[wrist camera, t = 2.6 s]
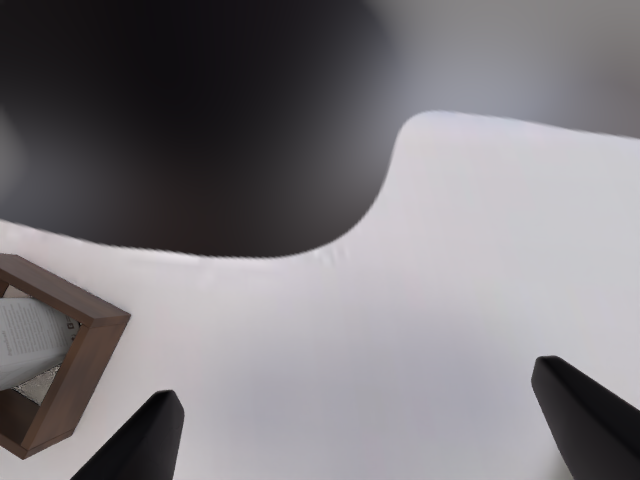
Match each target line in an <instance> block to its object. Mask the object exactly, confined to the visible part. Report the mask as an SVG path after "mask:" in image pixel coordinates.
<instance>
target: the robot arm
mask: <svg viewBox="0 0 640 480" xmlns="http://www.w3.org/2000/svg"><path fill="white" fill-rule="evenodd" d="M531 383H532V388H533V391H534V393H535V395H536V398H537V400H538V402H539V405H540V407H541V409H542V412H543V414H544V416H545V419H546V421H547V423H548V426H549V428H550V430H551V433H552V435H553V437H554V440H555V442H556V444H557V446H558V449H559V451H560V453H561V455H562V457H563V459H564V461H565V463H566V465H567V467H568V469H569V470H570V472H571V474H572V476H573V478H574V480H640V411H639V410H638V409H636V408H635V407H633V406H632V405H630V404H629V403H627V402H626V401H624V400H623V399H621V398H620V397H618V396H617V395H615V394H614V393H612V392H611V391H609V390H608V389H606V388H605V387H603V386H602V385H600V384H599V383H597V382H596V381H594V380H593V379H591V378H590V377H588V376H587V375H585V374H584V373H582V372H581V371H579V370H578V369H576V368H575V367H573V366H572V365H570V364H569V363H567V362H566V361H564V360H563V359H561V358H560V357H558V356H553V355H552V356H541V357H538V358H537V359H536V362H535V366H534V370H533V374H532V378H531ZM183 423H184V409H183V407H182V405H181V403H180V401H179V399H178V397H177V395H176V393H175V392H174V391H173V390H162V391H157V392H156V393H154V394H153V395H152V396H151V397H150V398H149V399H148V400H147V401H146V402H145V403H144V404H143V405H142V406H141V407H140V408H139V409H138V410H137V411H136V412H135V413H134V414H133V415H132V416H131V418H130V419H129V420H128V421H127V422H126V423H125V424H124V425H123V426H122V427H121V428H120V429H119V430H118V431H117V432H116V433H115V434H114V435H113V436H112V437H111V438H110V439H109V440H108V441H107V442H106V443H105V444H104V445H103V446H102V447H101V448H100V449H99V450H98V451H97V452H96V453H95V454H94V455H93V456H92V457H91V458H90V459H89V461H88V462H87V463H86V464H85V465H84V466H83V467H82V468H81V469H80V470H79V471H78V472H77V473H76V474H75V475H74V476H73V477H72V478H71V479H70V480H172V479H173V475H174V470H175V465H176V459H177V454H178V449H179V444H180V438H181V433H182V428H183Z"/></svg>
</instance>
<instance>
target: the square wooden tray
mask: <svg viewBox="0 0 640 480" xmlns="http://www.w3.org/2000/svg"><path fill="white" fill-rule="evenodd" d="M9 284H10V285H12V286H14V287H15V288H17V289H19V290H21V291H23V292H25V293H26V294H28V295H30V296H32V297H34V298H36V299H37V300H39V301H41V302H43V303H45V304H47V305H49V306H50V307H52V308H54V309H56V310H58V311H60V312H61V313H63V314H65V315H67V316H69V317H71V318H72V319H74V320H76V321H78V322H80V323H82V325H81V327H80V329H79V331H78V333H77V335H76V337H75V339H74V341H73V343H72V344H71V346H70V348H69V350H68V352H67V354H66V356H65V358H64V360H63V362H62V364H61V366H60V368H59V370H58V372H57V374H56V376H55V378H54V380H53V382H52V384H51V386H50V388H49V390H48V392H47V394H46V396H45V398H44V400H43V402H42V404H41V406H39V405H37V404H36V403H34V402H32V401H31V400H29V399H27V398H26V397H24V396H22V395H21V394H19V393H17V392H16V391H14V390H12V389H11V388H9V389H5V390H1V391H0V446H2V447H3V448H5V449H6V450H8V451H10V452H11V453H13V454H14V455H16V456H17V457H19V458H20V459H22V460H24V459H26V458H28V457H30V456H32V455H34V454H36V453H38V452H40V451H42V450H44V449H46V448H48V447H50V446H52V445H54V444H56V443H58V442H60V441H62V440H64V439H66V438H68V437H70V436H71V435H72V434H73V432H74V430H75V427H76V426H77V424H78V422H79V420H80V418H81V416H82V414H83V412H84V410H85V408H86V406H87V404H88V402H89V400H90V398H91V396H92V394H93V392H94V390H95V387H96V385H97V383H98V381H99V379H100V377H101V375H102V373H103V371H104V369H105V367H106V365H107V363H108V361H109V359H110V357H111V355H112V353H113V351H114V349H115V347H116V345H117V343H118V341H119V339H120V337H121V335H122V333H123V331H124V329H125V327H126V325H127V322H128V321H129V319H130V317H131V314H129V313H127V312H125V311H123V310H121V309H119V308H117V307H115V306H113V305H111V304H109V303H108V302H106V301H104V300H102V299H100V298H98V297H96V296H94V295H92V294H90V293H88V292H87V291H85V290H83V289H81V288H79V287H77V286H75V285H73V284H71V283H69V282H67V281H66V280H64V279H62V278H60V277H58V276H56V275H54V274H52V273H50V272H48V271H46V270H45V269H43V268H41V267H39V266H37V265H35V264H33V263H31V262H29V261H27V260H25V259H24V258H22V257H20V256H18V255H12V254H3V253H0V298H2V296H3V294H4V292H5V290H6V288H7V286H8V285H9Z"/></svg>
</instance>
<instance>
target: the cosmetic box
mask: <svg viewBox="0 0 640 480" xmlns="http://www.w3.org/2000/svg"><path fill="white" fill-rule="evenodd" d="M79 329H80V328H79V324H78V322H77V321H76V320H74V319H72V318H71V317H69V316H67V315H65V314H63V313H61V312H60V311H58V310H56V309H54V308H52V307H50V306H49V305H47V304H45V303H43V302H41V301H39V300H37V299H36V298H0V391H1V390H5V389H9V388H12V387H16V386H18V385H20V384H22V383H24V382H26V381H28V380H30V379H32V378H34V377H35V376H37V375H39V374H41V373H43V372H45V371H47V370H49V369H51V368H53V367H55V366H57V365H59V364H61V363H62V362H63V360H64V358H65V356H66V354H67V352H68V350H69V348H70V346H71V344H72V343H73V341H74V339H75V337H76V335H77V333H78V331H79Z"/></svg>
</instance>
